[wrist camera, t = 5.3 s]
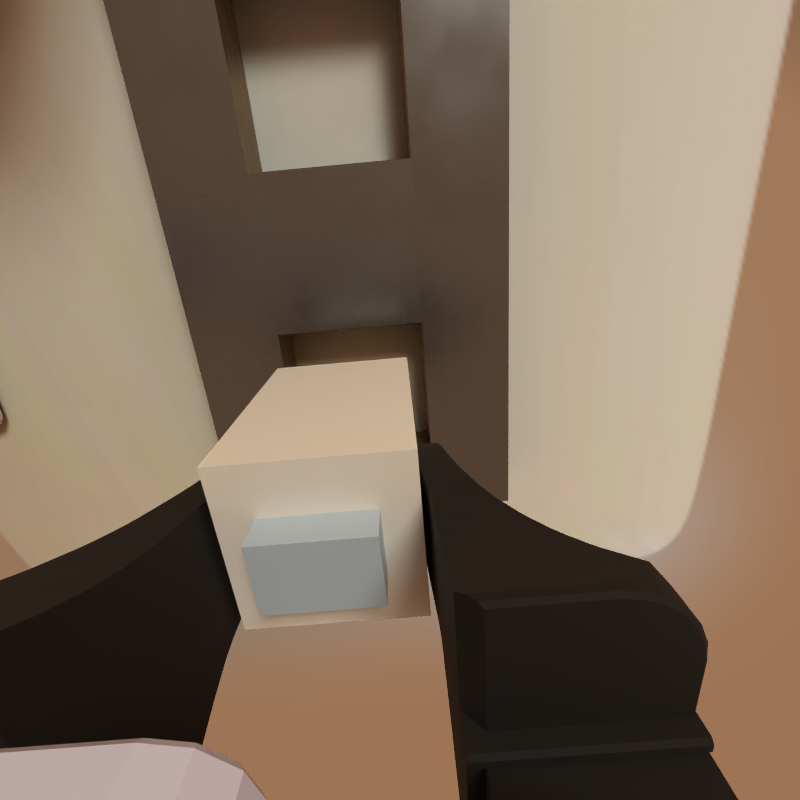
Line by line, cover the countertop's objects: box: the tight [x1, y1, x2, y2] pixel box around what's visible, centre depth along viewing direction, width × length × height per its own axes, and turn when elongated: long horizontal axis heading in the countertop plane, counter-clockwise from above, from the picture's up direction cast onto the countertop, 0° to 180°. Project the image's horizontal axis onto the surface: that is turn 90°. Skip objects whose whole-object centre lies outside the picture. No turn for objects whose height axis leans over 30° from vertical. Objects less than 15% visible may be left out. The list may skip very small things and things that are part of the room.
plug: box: [197, 357, 431, 630], centre depth 11 cm, size 4×4×7 cm
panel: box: [103, 0, 509, 501], centre depth 16 cm, size 12×22×2 cm, turn 5°
